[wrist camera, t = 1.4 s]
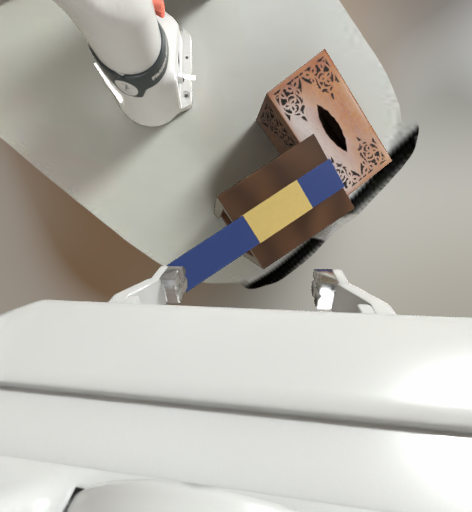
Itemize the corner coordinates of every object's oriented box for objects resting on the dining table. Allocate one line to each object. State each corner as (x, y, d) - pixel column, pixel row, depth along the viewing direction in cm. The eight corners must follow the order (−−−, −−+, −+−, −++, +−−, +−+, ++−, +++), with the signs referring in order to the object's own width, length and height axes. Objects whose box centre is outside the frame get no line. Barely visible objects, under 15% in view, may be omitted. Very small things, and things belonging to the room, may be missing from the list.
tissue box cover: (256, 119, 53) (266, 93, 43) (303, 83, 53) (324, 48, 43) (316, 207, 56) (339, 202, 46) (360, 173, 57) (392, 160, 47)
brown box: (240, 254, 55) (263, 269, 32) (213, 213, 54) (216, 196, 30) (293, 219, 56) (354, 208, 32) (268, 177, 54) (313, 133, 31)
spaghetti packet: (188, 286, 31) (185, 293, 27) (171, 262, 30) (166, 265, 26) (330, 191, 32) (345, 186, 28) (316, 166, 31) (329, 157, 27)
